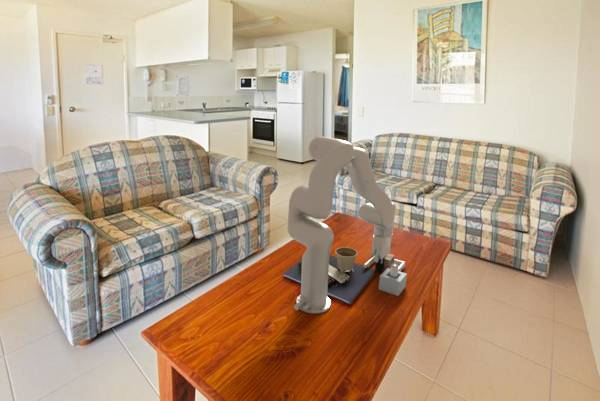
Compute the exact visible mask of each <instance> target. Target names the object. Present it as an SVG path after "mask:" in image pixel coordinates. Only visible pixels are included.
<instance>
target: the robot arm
mask: <svg viewBox="0 0 600 401" xmlns="http://www.w3.org/2000/svg"><path fill="white" fill-rule="evenodd" d="M308 153H309V155H310V157H311V158H312V159H313V160H315V161H317V163H315V165H314V166H313V167H312V168H311V171H310V173H309V179H308V184H307V185H299V186H297V187H296V188H295V189H294V190H293V191H292V192H291V195H290V198H289V201H288V216H287V217H288V218H287V232H288V234H289V237H290V238H291V239H293V240H294V241H296V242H298V243H299V244H302V245H303V246H305V247H306V250H305V252H304V253H303V255H302V257H301V273H300V274H301V277H300V278H301V280H300V281H301V282H300V283H301V284H300V295H298V296H297V297H296V300H295V301H296V304H294V305H293V308H294V309H295V310H296V311H298V310H301V311H302V312H304V313H308V314H314V315H315V314H316V315H317V314H322V313H325V312H327V311H328V310H329V309H330V308H331V305H332V300H331V299H330V298H329V297H328V285H329V268H330V254H331V250H332V246H333V242H334V237H335V236H334V232H333V230H332V228H331V227H330V226H328V225H327V224H326V223H324V222H322V221H319V220H323V221H324V220H326V219H328V218H329V217H330V216H331V213H332V208H333V201H334V191H335V184H336V179H337V176H338V175H339V174H340V172H341V171H342V170H343V169H344V170H347V173H348V175H349V179H350V182H351V185H352V188H353V190H354V192H355V193H356V194H358V196H360V197H361V198H363V199H364V200H366V201H368V202H366V203H363V204H362V205H361V206H360V207H359V208H358V212H357V214H358V217H359V219H360V220H362V221H363V222H365V223H369V224H371V225H374V226H373V227H374V228H373V235H374V238H373V237H372V243H371V252H370V258H372V257H373V256H375V260H374V263H375V267H374V268H375V269H374V270H375V271H376V272H379V273H383V272H384V262H385V257H386V255H387V254H390V250H391V243H392V237H393V233H394V225H395V215H396V207H397V206H396V204H395V202H393V201H392V200H391V198H390V197H389V195H388V194H387V193H386V192H385V191H384V189H383V188H382V186H380V185H379V184H378V182H377V181H376V178H375V174H374V171H373V167H372V163H371V159H370V156H369V152H367V150H365V149H364V148H361V147H357V146H354V145H353V144H352V143H351V142H349V141H347V140H343V139H339V138H334V137H327V136H323V135H322V136H320V135H319V136H315V137H314V138H313V139H312V140H311V141H310V142H309V145H308Z"/></svg>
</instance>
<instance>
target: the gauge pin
mask: <svg viewBox="0 0 600 401" xmlns="http://www.w3.org/2000/svg"><path fill="white" fill-rule="evenodd" d="M398 267H399V266H398V265H397V264H391V267H390V277H393V278H396V279H397V276H398Z"/></svg>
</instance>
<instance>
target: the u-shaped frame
mask: <svg viewBox="0 0 600 401" xmlns="http://www.w3.org/2000/svg"><path fill="white" fill-rule="evenodd" d="M374 260H375V256H373V257H370V259H368V261H366V262H365V263H364V264H363V268H364V267H365V268H366V267H368V268H369V267H370V266H371V265H373V264H374V263H375V262H374ZM394 264H397V265H398V266H399V267H398V271H400V272H402V270H403V269H404V268H405V267H406V261H404V260H399V259H396V258H394Z"/></svg>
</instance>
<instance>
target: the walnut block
mask: <svg viewBox="0 0 600 401" xmlns="http://www.w3.org/2000/svg"><path fill="white" fill-rule="evenodd" d="M394 259H396V255H394V254H391V253H388V254H387V255H386V257H385V262H384V271H385V270H386V269H387V268H390V267H391V264H394ZM384 271H383V272H384Z"/></svg>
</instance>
